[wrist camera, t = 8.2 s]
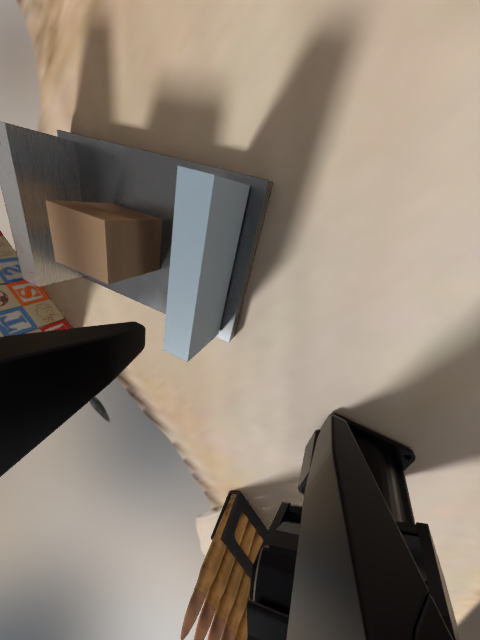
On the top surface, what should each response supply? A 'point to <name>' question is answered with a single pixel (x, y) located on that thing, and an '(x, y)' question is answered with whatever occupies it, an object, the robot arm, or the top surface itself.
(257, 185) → the vise base
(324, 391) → the top surface
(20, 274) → the stack of blocks
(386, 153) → the top surface
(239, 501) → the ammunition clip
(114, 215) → the walnut block
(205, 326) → the plate
